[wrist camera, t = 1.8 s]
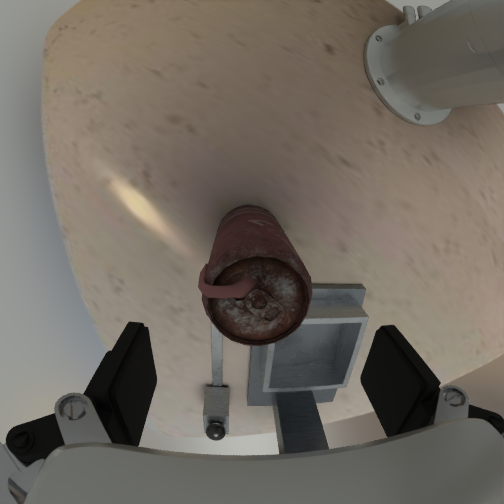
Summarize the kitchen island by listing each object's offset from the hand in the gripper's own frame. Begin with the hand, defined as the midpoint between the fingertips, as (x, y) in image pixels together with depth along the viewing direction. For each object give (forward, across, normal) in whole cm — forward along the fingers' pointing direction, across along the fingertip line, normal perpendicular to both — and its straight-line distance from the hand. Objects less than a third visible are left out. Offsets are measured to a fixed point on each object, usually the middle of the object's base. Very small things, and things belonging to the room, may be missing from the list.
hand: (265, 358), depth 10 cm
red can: (+18, 0, 0) cm, 18 cm away
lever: (+18, +3, +22) cm, 29 cm away
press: (+18, -7, +14) cm, 24 cm away
